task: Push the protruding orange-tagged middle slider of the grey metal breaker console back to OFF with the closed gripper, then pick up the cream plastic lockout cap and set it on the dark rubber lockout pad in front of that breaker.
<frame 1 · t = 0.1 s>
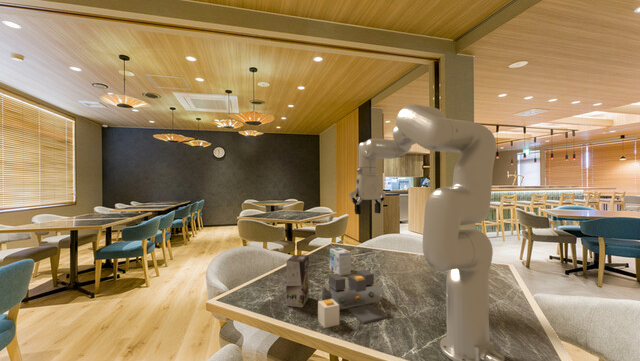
hand: (367, 213, 110), 31 cm above the table, fingers open, 9 cm apart
lockout pad: (367, 314, 88), on the table
toggle mid: (356, 281, 94), point 9 cm above the table, slide at 0.0 cm
lockout cap: (328, 322, 83), on the table
coffee box: (298, 302, 98), on the table
light bulb box: (340, 272, 132), on the table
toggle right: (365, 277, 100), point 8 cm above the table, slide at 4.0 cm
breaker console: (351, 301, 98), on the table
toggle left: (336, 281, 96), point 8 cm above the table, slide at 4.0 cm
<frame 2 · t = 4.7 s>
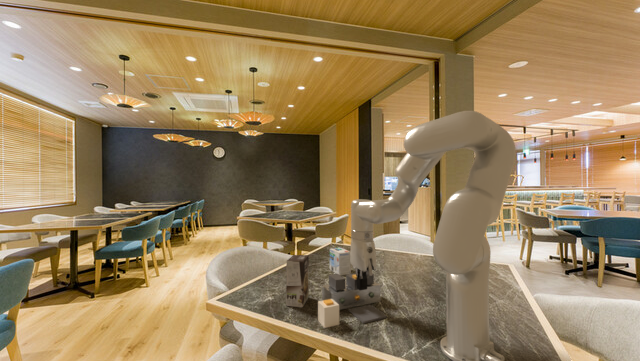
hand: (362, 288, 91), 7 cm above the table, fingers closed
toggle mid: (354, 280, 96), point 8 cm above the table, slide at 1.6 cm, touching gripper
everything else where it was.
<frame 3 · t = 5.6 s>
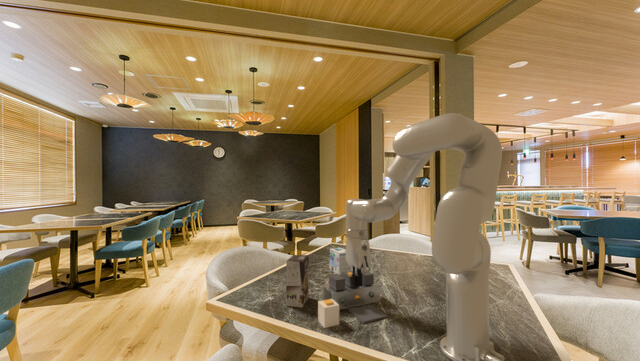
hand: (357, 285, 94), 7 cm above the table, fingers closed
toggle mid: (350, 277, 99), point 9 cm above the table, slide at 4.8 cm, touching gripper
everything else where it was.
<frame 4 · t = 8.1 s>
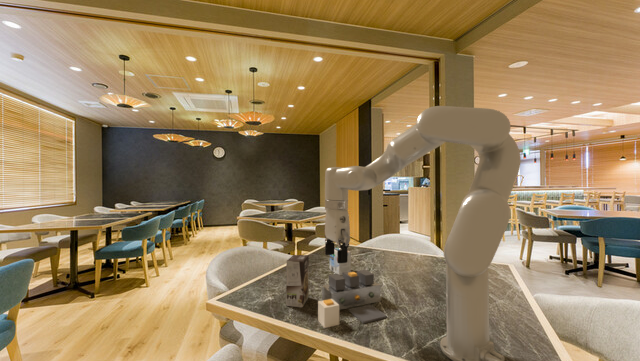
hand: (335, 258, 86), 19 cm above the table, fingers open, 9 cm apart
toggle mid: (350, 277, 99), point 8 cm above the table, slide at 4.5 cm
everything else where it was.
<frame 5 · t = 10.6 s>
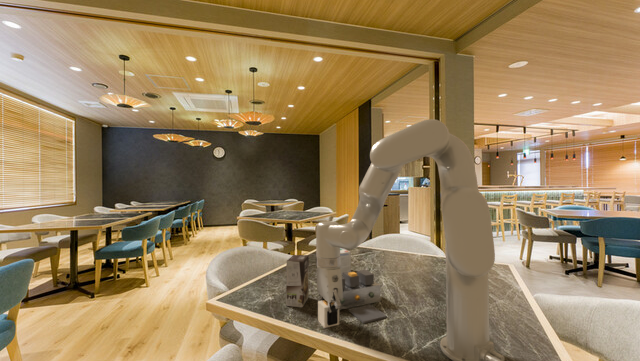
hand: (328, 319, 83), 1 cm above the table, fingers closed on lockout cap, 4 cm apart
lockout cap: (328, 322, 83), on the table, touching gripper
everything else where it was.
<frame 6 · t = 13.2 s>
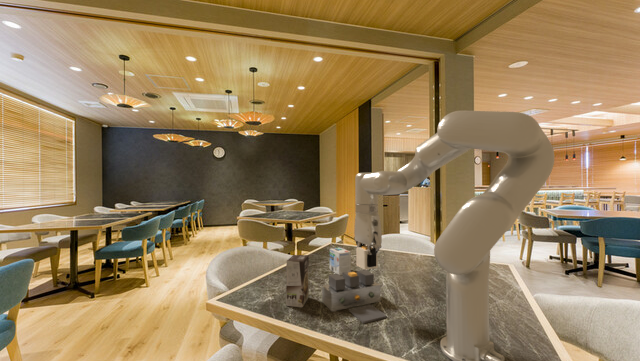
hand: (366, 263, 89), 17 cm above the table, fingers closed on lockout cap, 4 cm apart
lockout cap: (366, 266, 89), point 16 cm above the table, touching gripper
everything else where it was.
when the fingers open (3 cm above the table, at t = 15.9 s): lockout cap drops 2 cm, resting on lockout pad.
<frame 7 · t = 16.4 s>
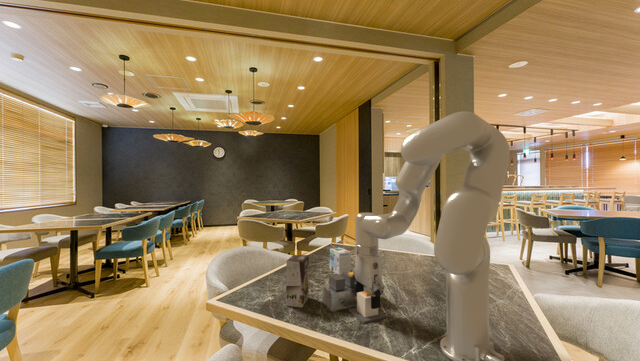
hand: (367, 301, 88), 4 cm above the table, fingers open, 9 cm apart
lockout cap: (367, 312, 88), point 1 cm above the table, touching lockout pad
everything else where it was.
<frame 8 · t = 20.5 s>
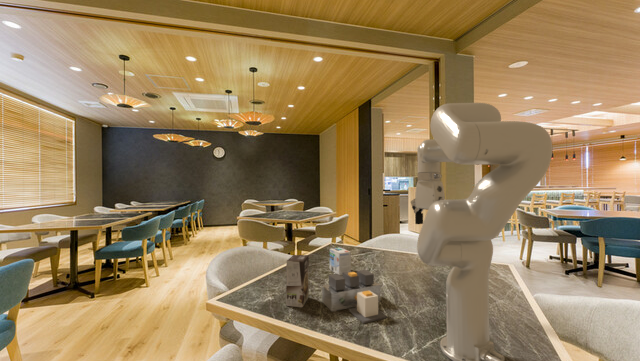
hand: (429, 225, 95), 28 cm above the table, fingers open, 9 cm apart
nothing on the table moved.
at the end: toggle mid slide at 4.5 cm; lockout cap inside the target area on the lockout pad (0.0 cm from its centre), point 0.6 cm above the lockout pad's base; lockout cap tilted 0° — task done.
